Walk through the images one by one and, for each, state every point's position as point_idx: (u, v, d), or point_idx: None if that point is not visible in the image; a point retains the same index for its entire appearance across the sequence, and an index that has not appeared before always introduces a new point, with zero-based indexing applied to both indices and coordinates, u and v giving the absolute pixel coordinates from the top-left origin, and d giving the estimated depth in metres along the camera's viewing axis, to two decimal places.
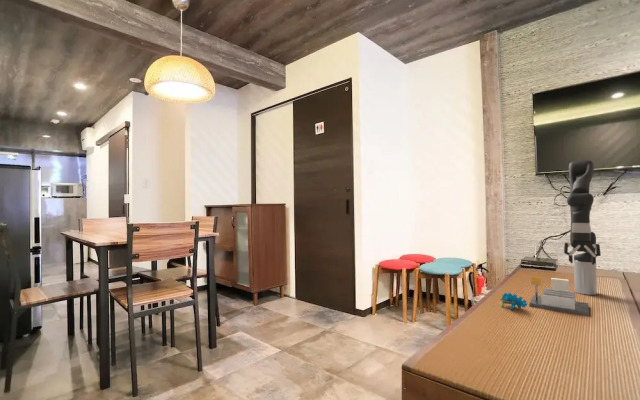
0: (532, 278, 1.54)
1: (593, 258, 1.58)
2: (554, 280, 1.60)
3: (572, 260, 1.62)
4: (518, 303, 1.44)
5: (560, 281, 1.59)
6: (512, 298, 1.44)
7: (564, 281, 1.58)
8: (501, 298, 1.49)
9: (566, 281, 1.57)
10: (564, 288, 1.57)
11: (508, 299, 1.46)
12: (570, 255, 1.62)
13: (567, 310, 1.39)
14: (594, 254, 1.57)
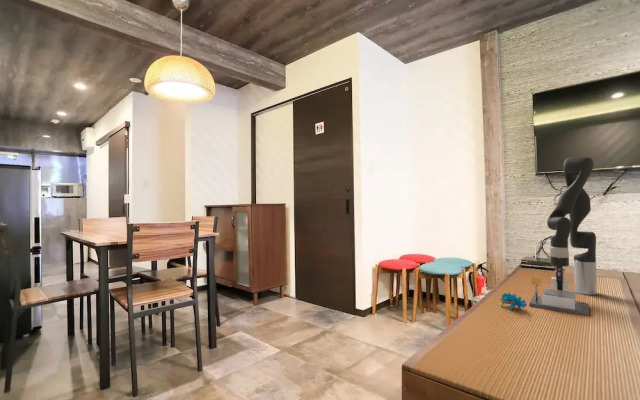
0: (532, 278, 1.54)
1: None
2: (554, 279, 1.60)
3: (562, 288, 1.58)
4: (518, 303, 1.44)
5: None
6: (511, 298, 1.44)
7: (564, 281, 1.58)
8: (501, 298, 1.49)
9: (566, 281, 1.57)
10: (564, 288, 1.58)
11: (508, 299, 1.46)
12: (562, 283, 1.57)
13: (567, 310, 1.39)
14: None
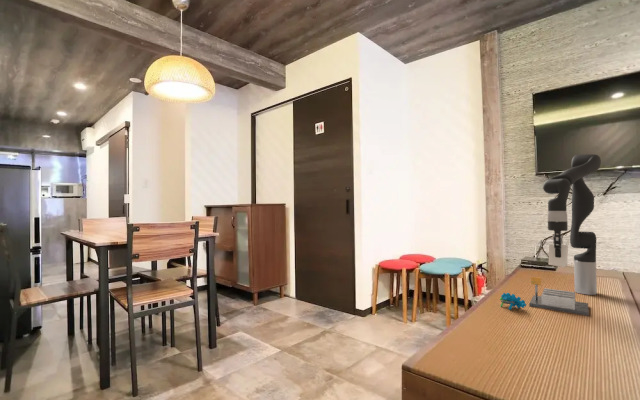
0: (532, 278, 1.54)
1: None
2: (552, 245, 1.50)
3: (560, 254, 1.48)
4: (517, 303, 1.44)
5: None
6: (511, 298, 1.44)
7: (563, 246, 1.47)
8: (500, 298, 1.49)
9: (565, 246, 1.47)
10: (562, 254, 1.47)
11: (507, 299, 1.46)
12: (560, 249, 1.47)
13: (567, 310, 1.39)
14: None
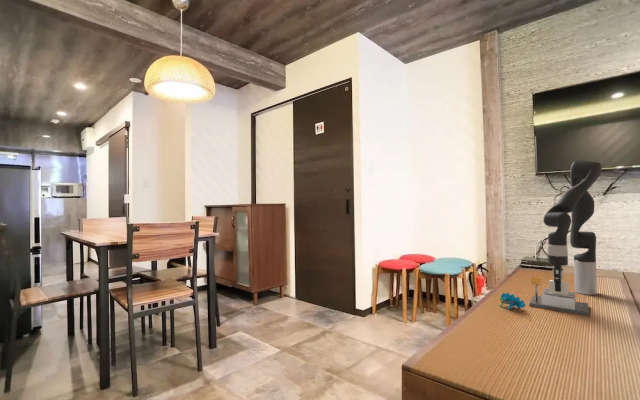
0: (532, 278, 1.54)
1: None
2: (552, 282, 1.48)
3: (560, 288, 1.44)
4: (517, 303, 1.43)
5: None
6: (510, 298, 1.44)
7: (563, 283, 1.46)
8: (500, 298, 1.49)
9: (565, 283, 1.45)
10: (563, 291, 1.46)
11: (507, 299, 1.46)
12: (560, 283, 1.44)
13: (567, 310, 1.39)
14: (561, 277, 1.50)
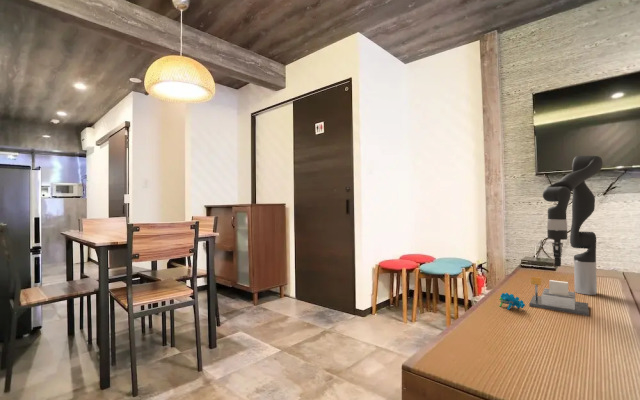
0: (532, 278, 1.54)
1: None
2: (552, 282, 1.48)
3: (560, 263, 1.46)
4: (516, 303, 1.43)
5: (559, 283, 1.47)
6: (510, 298, 1.44)
7: (563, 283, 1.46)
8: (500, 298, 1.49)
9: (565, 283, 1.45)
10: (563, 291, 1.46)
11: (506, 299, 1.46)
12: (560, 258, 1.46)
13: (567, 310, 1.39)
14: (561, 254, 1.49)
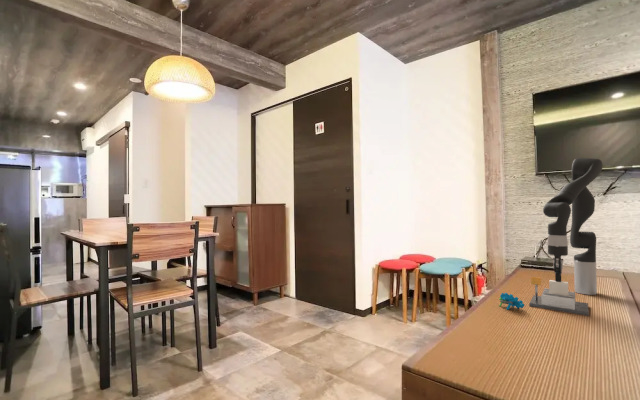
0: (532, 278, 1.54)
1: None
2: (552, 282, 1.48)
3: None
4: (516, 303, 1.43)
5: (559, 284, 1.47)
6: (509, 298, 1.44)
7: (563, 284, 1.46)
8: (500, 298, 1.49)
9: (565, 284, 1.45)
10: (563, 291, 1.46)
11: (506, 299, 1.46)
12: (561, 273, 1.46)
13: (567, 310, 1.39)
14: (561, 271, 1.48)
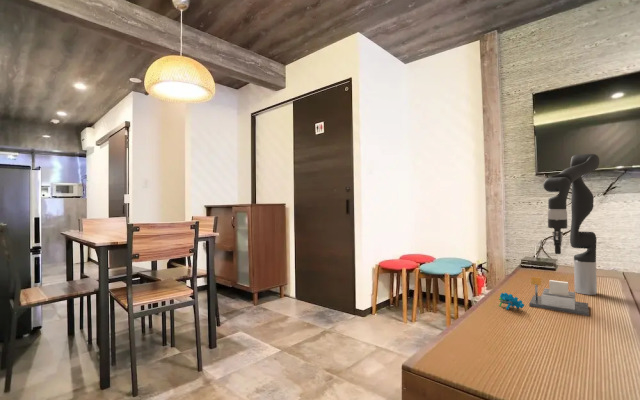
0: (532, 278, 1.54)
1: None
2: (552, 282, 1.48)
3: (560, 251, 1.52)
4: (515, 303, 1.43)
5: (559, 283, 1.47)
6: (509, 298, 1.44)
7: (563, 283, 1.46)
8: (500, 298, 1.49)
9: (565, 283, 1.45)
10: (563, 291, 1.46)
11: (506, 299, 1.46)
12: (560, 246, 1.52)
13: (567, 310, 1.39)
14: (560, 243, 1.53)
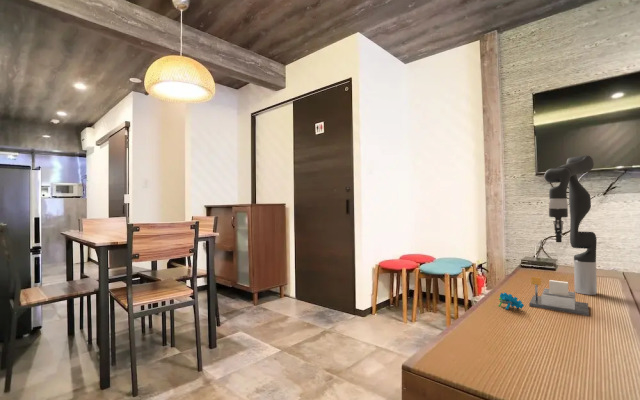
0: (532, 278, 1.54)
1: None
2: (552, 282, 1.48)
3: None
4: (515, 304, 1.43)
5: (559, 283, 1.47)
6: (508, 298, 1.44)
7: (563, 283, 1.46)
8: (499, 298, 1.49)
9: (565, 283, 1.45)
10: (563, 291, 1.46)
11: (505, 299, 1.46)
12: (561, 234, 1.57)
13: (567, 310, 1.39)
14: None
